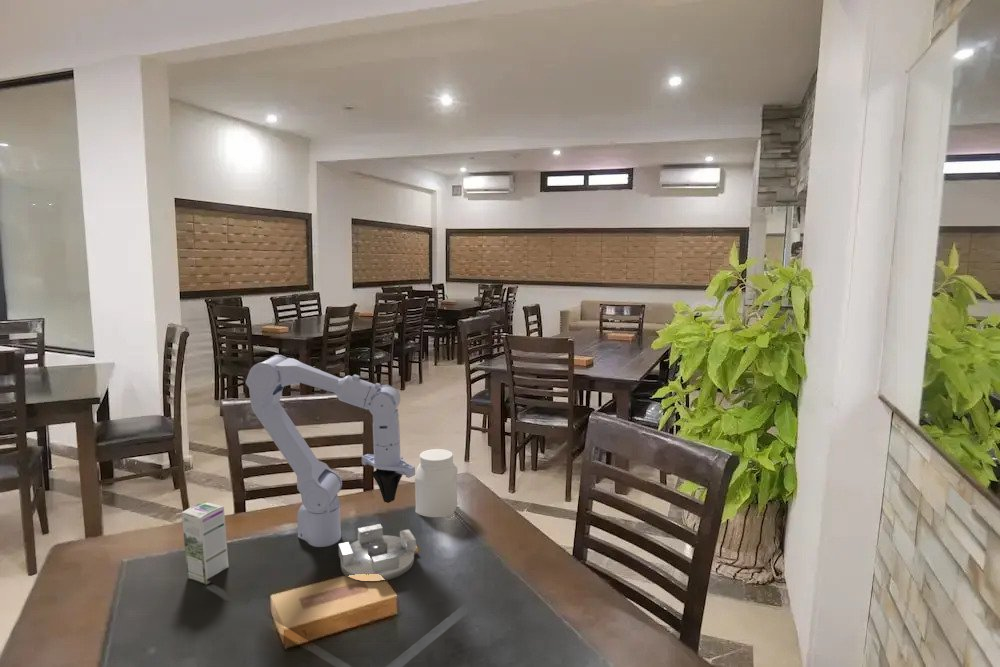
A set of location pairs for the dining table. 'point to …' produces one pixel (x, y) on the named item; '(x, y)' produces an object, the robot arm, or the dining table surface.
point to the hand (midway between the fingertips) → (389, 500)
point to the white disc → (378, 553)
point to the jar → (436, 484)
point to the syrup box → (205, 541)
